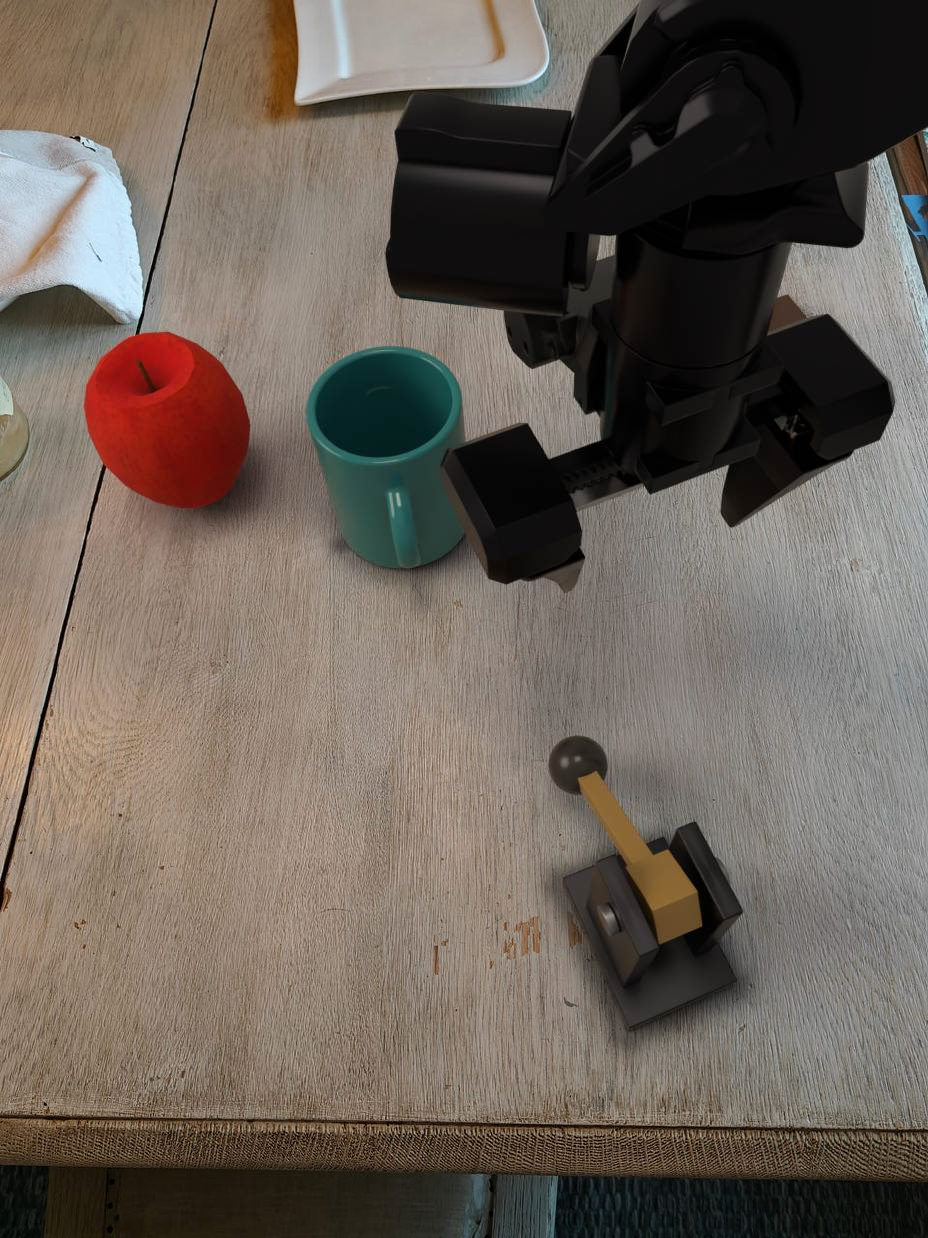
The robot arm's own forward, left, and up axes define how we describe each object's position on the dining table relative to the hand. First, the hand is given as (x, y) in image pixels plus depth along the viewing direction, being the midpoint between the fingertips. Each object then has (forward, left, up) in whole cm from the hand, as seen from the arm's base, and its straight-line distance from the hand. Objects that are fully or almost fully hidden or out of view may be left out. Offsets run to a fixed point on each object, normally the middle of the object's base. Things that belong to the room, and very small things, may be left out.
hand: (646, 551), depth 48 cm
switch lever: (+6, +11, -8) cm, 15 cm away
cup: (+9, -14, -12) cm, 21 cm away
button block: (-18, -17, -12) cm, 28 cm away
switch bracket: (+6, +15, -12) cm, 20 cm away
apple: (+21, -24, -12) cm, 34 cm away
